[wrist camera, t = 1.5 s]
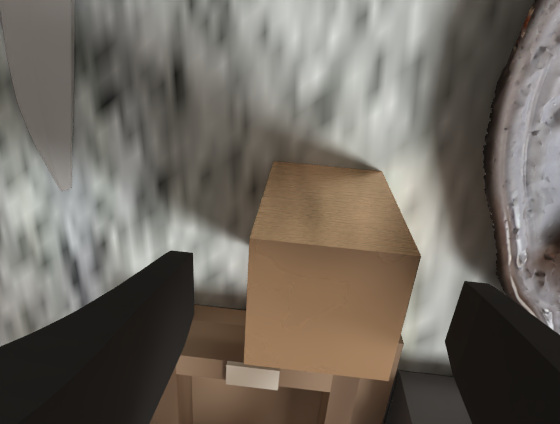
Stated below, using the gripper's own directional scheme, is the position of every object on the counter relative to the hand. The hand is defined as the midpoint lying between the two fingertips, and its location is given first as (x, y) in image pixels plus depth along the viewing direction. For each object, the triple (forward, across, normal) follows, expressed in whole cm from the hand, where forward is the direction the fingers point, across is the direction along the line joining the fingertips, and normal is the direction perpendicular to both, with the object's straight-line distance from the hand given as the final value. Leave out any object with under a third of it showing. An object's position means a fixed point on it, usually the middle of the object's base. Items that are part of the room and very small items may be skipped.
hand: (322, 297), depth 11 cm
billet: (+5, 0, 0) cm, 5 cm away
